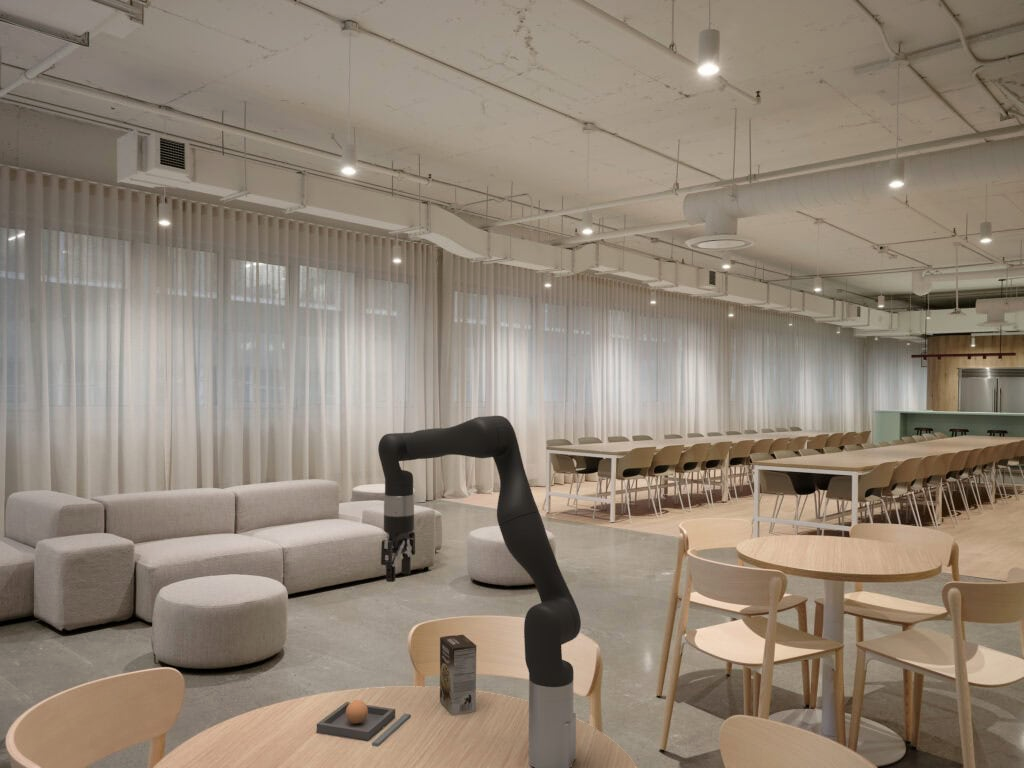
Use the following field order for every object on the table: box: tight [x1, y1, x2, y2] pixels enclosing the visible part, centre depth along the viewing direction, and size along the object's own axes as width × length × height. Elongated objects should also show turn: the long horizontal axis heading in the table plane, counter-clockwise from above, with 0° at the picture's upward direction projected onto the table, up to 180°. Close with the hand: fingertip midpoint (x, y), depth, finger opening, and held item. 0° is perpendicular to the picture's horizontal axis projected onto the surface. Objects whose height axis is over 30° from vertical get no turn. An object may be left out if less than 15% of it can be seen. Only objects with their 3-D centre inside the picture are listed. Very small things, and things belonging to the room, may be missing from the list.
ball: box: [346, 699, 368, 724], centre depth 177 cm, size 5×5×5 cm
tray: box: [316, 701, 396, 742], centre depth 177 cm, size 13×13×2 cm
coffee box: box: [439, 634, 477, 716], centre depth 188 cm, size 9×6×16 cm
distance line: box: [371, 713, 411, 747], centre depth 174 cm, size 2×16×1 cm, turn 162°
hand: (398, 577), depth 193 cm, fingers open, 8 cm apart
